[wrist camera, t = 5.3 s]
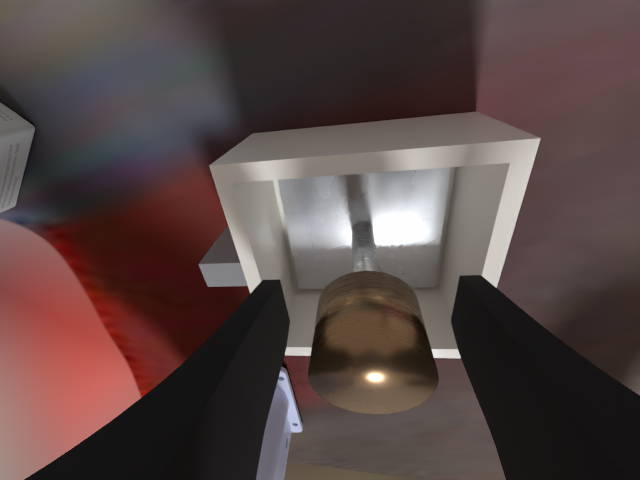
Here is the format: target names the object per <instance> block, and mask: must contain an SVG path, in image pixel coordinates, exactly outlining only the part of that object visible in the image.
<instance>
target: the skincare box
mask: <svg viewBox="0 0 640 480" xmlns="http://www.w3.org/2000/svg"><path fill="white" fill-rule="evenodd" d="M34 132H35V127H34V126H33V125H32V124H30V123H29V122H28V121H26V120H25V119H23V118H22V117H21V116H19V115H18V114H17V113H15V112H14V111H12V110H11V109H9V108H8V107H6V106H5V105H3V104H2V103H1V102H0V213H1V212H3V211H5V210H8V209H10V208H13V207H15V206H16V202H17V198H18V194H19V190H20V186H21V182H22V178H23V174H24V170H25V166H26V163H27V159H28V155H29V151H30V147H31V143H32V139H33V135H34Z"/></svg>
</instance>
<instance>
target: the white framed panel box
mask: <svg viewBox="0 0 640 480" xmlns="http://www.w3.org/2000/svg"><path fill="white" fill-rule="evenodd" d="M540 139H541V138H539V137H537V136H534V135H532V134H529V133H527V132H525V131H522V130H520V129H517V128H515V127H513V126H510V125H508V124H505V123H503V122H501V121H498V120H496V119H493V118H491V117H488V116H486V115H484V114H481V113H479V112H466V113H456V114H446V115H436V116H425V117H415V118H405V119H395V120H384V121H374V122H364V123H354V124H343V125H333V126H323V127H313V128H302V129H292V130H282V131H272V132H261V133H253V134H251V135H250V136H249V137H247V138H246V139H244V140H243V141H242V142H240V143H239V144H238V145H236V146H235V147H234V148H232V149H231V150H230V151H228V152H227V153H225V154H224V155H223V156H221V157H220V158H219V159H217V160H216V161H215V162H213V163H212V164H211V165H209V167H210V170H211V173H212V176H213V179H214V183H215V186H216V189H217V192H218V195H219V198H220V201H221V204H222V207H223V210H224V214H225V217H226V220H227V223H228V226H229V227H226V228H225V229H224V231H223V232H222V233H221V235H220V236H219V237H218V239H217V240H216V241H215V243H214V244H213V245H212V247H211V248H210V249H209V251H208V252H207V253H206V255H205V256H204V257H203V259H202V260H201V261H200V263H199V264H198V265H199V267H200V269H201V272H202V274H203V277H204V279H205V281H206V284H207V286H208V287H221V286H248V288H249V291H250V294H251V292H252V291H253V290H254V289H255V288H256V287H257V286H258V285H259V284H260V282H261V281H262V280H277V279H280V281H281V285H282V289H283V294H284V298H285V302H286V306H287V310H288V314H289V319H290V326H289V333H288V340H287V347H286V352H285V355H299V356H311V350H312V343H313V335H314V328H315V321H316V314H317V307H318V300H319V297H320V295H321V293H322V291H323V290H324V289H299V287H298V281H297V276H296V271H295V266H294V261H293V256H292V251H291V246H290V241H289V236H288V231H287V226H286V221H285V216H284V210H283V205H282V200H281V195H280V190H279V185H278V180H281V179H295V178H308V177H322V176H336V175H350V174H364V173H377V172H391V171H405V170H419V169H432V168H446V167H451V171H450V178H449V185H448V193H447V200H446V207H445V214H444V221H443V228H442V236H441V243H440V250H439V257H438V264H437V271H436V279H435V286H434V287H411V288H412V289H413V291H414V292H415V294H416V296H417V299H418V302H419V306H420V309H421V313H422V317H423V320H424V324H425V328H426V331H427V335H428V339H429V342H430V346H431V349H432V353H433V357H434V358H461V356H460V354H459V351H458V347H457V344H456V340H455V336H454V333H453V329H452V325H451V317H452V312H453V307H454V302H455V297H456V292H457V287H458V281H459V276H463V275H481V276H482V277H484V278H485V279H486V280H487V281H489V282H490V283H491V284H492V285H493V286H495V287H496V288H497V285H498V281H499V278H500V275H501V271H502V268H503V264H504V261H505V258H506V254H507V251H508V247H509V244H510V241H511V237H512V234H513V231H514V227H515V224H516V220H517V217H518V214H519V210H520V207H521V203H522V200H523V197H524V193H525V190H526V186H527V183H528V180H529V176H530V173H531V170H532V166H533V163H534V159H535V156H536V153H537V149H538V146H539V142H540Z"/></svg>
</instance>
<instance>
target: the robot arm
mask: <svg viewBox="0 0 640 480" xmlns="http://www.w3.org/2000/svg"><path fill="white" fill-rule="evenodd" d="M451 325H452V329H453V333H454V336H455V340H456V344H457V347H458V351H459V354H460V356H461V359H462V362H463V364H464V367H465V369H466V372H467V374H468V377H469V379H470V382H471V384H472V387H473V389H474V392H475V394H476V396H477V399H478V401H479V404H480V406H481V409H482V411H483V414H484V416H485V419H486V421H487V424H488V426H489V429H490V431H491V434H492V437H493V440H494V442H495V445H496V448H497V451H498V455H499V458H500V461H501V465H502V468H503V471H504V474H505V478H506V480H640V396H639V395H638V394H636V393H635V392H633V391H632V390H630V389H629V388H627V387H626V386H624V385H623V384H621V383H620V382H618V381H617V380H615V379H614V378H612V377H611V376H609V375H608V374H606V373H605V372H603V371H602V370H601V369H599V368H598V367H596V366H595V365H593V364H592V363H591V362H589V361H588V360H587V359H585V358H584V357H582V356H581V355H580V354H578V353H577V352H576V351H574V350H573V349H572V348H570V347H569V346H568V345H566V344H565V343H563V342H562V341H561V340H560V339H558V338H557V337H556V336H554V335H553V334H552V333H550V332H549V331H548V330H547V329H545V328H544V327H543V326H542V325H540V324H539V323H538V322H537V321H535V320H534V319H533V318H532V317H530V316H529V315H528V314H527V313H525V312H524V311H523V310H522V309H521V308H519V307H518V306H517V305H516V304H515V303H513V302H512V301H511V300H510V299H509V298H507V297H506V296H505V295H504V294H503V293H502V292H500V291H499V290H498V289H497V288H496V287H495V286H493V285H492V284H491V283H490V282H489V281H487V280H486V279H485V278H484V277H482V276H481V275H463V276H459V281H458V287H457V292H456V297H455V302H454V307H453V312H452V317H451ZM289 326H290V319H289V314H288V310H287V306H286V302H285V298H284V294H283V289H282V285H281V281H280V279H277V280H262V281H261V282H260V284H259V285H258V286H257V287H256V288H255V289H254V290H253V291H252V292H251V294H250V295H249V296H248V297H247V298H246V299H245V300H244V301H243V303H242V304H241V305H240V306H239V307H238V308H237V309H236V310H235V312H234V313H233V314H232V315H231V316H230V317H229V318H228V319H227V320H226V321H225V322H224V323H223V324H222V326H221V327H220V328H219V329H218V330H217V331H216V332H215V333H214V334H213V335H212V336H211V337H210V338H209V339H208V340H207V341H206V342H205V343H204V344H203V345H202V346H201V347H200V348H199V349H198V350H197V351H196V352H195V353H194V354H193V355H192V356H190V357H189V358H188V359H187V360H186V361H185V362H184V363H183V364H182V365H181V366H180V367H178V368H177V369H176V370H175V371H174V372H173V373H171V374H170V375H169V376H168V377H167V378H166V379H164V380H163V381H162V382H161V383H160V384H158V385H157V386H156V387H155V388H154V389H152V390H151V391H150V392H148V393H147V394H146V395H145V396H143V397H142V398H141V399H139V400H138V401H137V402H136V403H134V404H133V405H132V406H130V407H129V408H128V409H127V410H125V411H124V412H123V413H122V414H120V415H119V416H117V417H116V418H115V419H113V420H112V421H111V422H110V423H108V424H107V425H105V426H104V427H102V428H101V429H99V430H98V431H97V432H95V433H94V434H92V435H91V436H90V437H88V438H87V439H85V440H84V441H82V442H81V443H80V444H78V445H77V446H75V447H74V448H72V449H71V450H69V451H68V452H66V453H65V454H64V455H62V456H60V457H59V458H57V459H56V460H55V461H53V462H51V463H50V464H48V465H47V466H45V467H44V468H42V469H40V470H39V471H37V472H36V473H34V474H32V475H31V476H30V477H28V478H26V479H25V480H284V474H285V469H286V463H287V457H288V451H289V444H290V438H291V432H301V431H302V429H303V425H302V421H301V418H300V414H299V411H298V407H297V404H296V400H295V397H294V393H293V390H292V386H291V383H290V379H289V376H288V372H287V370H286V369H285V368H284V367H282V363H283V359H284V356H285V352H286V347H287V340H288V333H289Z"/></svg>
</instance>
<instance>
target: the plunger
mask: <svg viewBox="0 0 640 480" xmlns="http://www.w3.org/2000/svg"><path fill="white" fill-rule="evenodd" d="M450 171H451V167H446V168H432V169H419V170H405V171H391V172H377V173H364V174H350V175H336V176H322V177H308V178H295V179H281V180H278V185H279V190H280V195H281V200H282V205H283V210H284V216H285V221H286V226H287V231H288V236H289V241H290V246H291V251H292V256H293V261H294V266H295V271H296V276H297V281H298V287H299V289H324V290H323V291H322V293H321V295H320V297H319V300H318V307H317V314H316V321H315V328H314V335H313V343H312V350H311V357H310V364H309V371H308V377H309V381H310V384H311V386H312V388H313V389H314V390H315V392H316V393H317V394H318V395H319V396H320V397H322V398H323V399H324V400H326V401H328V402H329V403H331V404H333V405H335V406H338V407H340V408H343V409H346V410H350V411H354V412H359V413H368V414H387V413H395V412H400V411H404V410H407V409H410V408H413V407H415V406H417V405H419V404H421V403H423V402H424V401H426V400H427V399H428V398H429V397H431V395H432V394H433V393H434V392H435V390H436V388H437V385H438V380H439V377H438V371H437V368H436V364H435V360H434V357H433V353H432V349H431V346H430V342H429V339H428V335H427V331H426V328H425V324H424V320H423V317H422V313H421V309H420V306H419V302H418V299H417V296H416V294H415V292H414V291H413V289H412V288H411V287H434V286H435V279H436V271H437V264H438V257H439V250H440V243H441V236H442V228H443V221H444V214H445V207H446V200H447V193H448V185H449V178H450Z"/></svg>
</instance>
